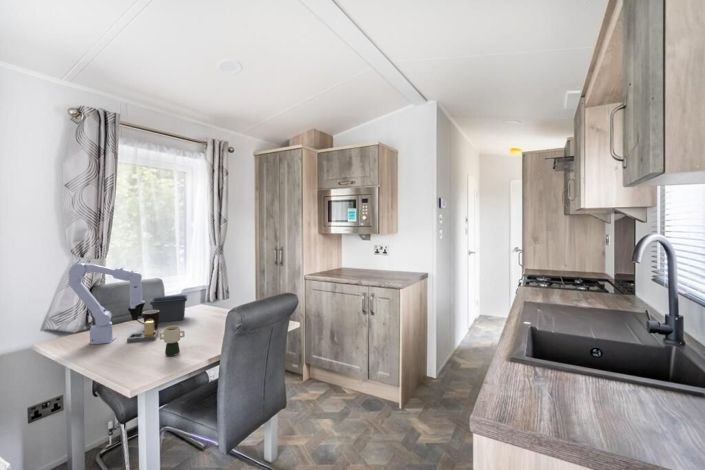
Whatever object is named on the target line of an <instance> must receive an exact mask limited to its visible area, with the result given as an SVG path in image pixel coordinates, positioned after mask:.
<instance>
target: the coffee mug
mask: <svg viewBox="0 0 705 470" xmlns="http://www.w3.org/2000/svg"><path fill="white" fill-rule="evenodd" d="M140 317H142V319H143V322H142V321H139V320H136V321H137V322H138V323H140V324H141V325H144V323H145V322H146V321H154V330H157V329H158V327H159V322H158V319H159V310H153V309H149V310H145V311H142V315H141V316H140Z"/></svg>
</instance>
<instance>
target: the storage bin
mask: <svg viewBox="0 0 705 470" xmlns="http://www.w3.org/2000/svg"><path fill="white" fill-rule="evenodd" d="M187 301H188V294H178V295H167V296H165V295H164V296H156V297H152V298H150V299H149V302H150V303H149V305H151V306H152V310H159V319H158V323H164V322H172V321H174V322H175V321H181V320H184V319H185V315H186V314H185V312H186V311H185V310H186V302H187Z"/></svg>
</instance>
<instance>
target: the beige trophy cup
mask: <svg viewBox="0 0 705 470" xmlns="http://www.w3.org/2000/svg"><path fill="white" fill-rule="evenodd" d="M185 336H186V335H185V330H181V326H178V325H171V326H167V327H164V328H163V332H159V333H158V338H159V340H161V341H162V340H163V341H164V343H166V344H165V353H164V354H165V355H166V356H169V357H172V356H173V357H174V356H176V355H178V354H180V352H181V351H180V350H181V349H180V344H179V341H180V340H181V338H185Z"/></svg>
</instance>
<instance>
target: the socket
mask: <svg viewBox="0 0 705 470" xmlns="http://www.w3.org/2000/svg"><path fill="white" fill-rule="evenodd" d="M158 337H159V331H155V335H150V336H144V332H134V333H133V332H132V333H131V334H130V335H129V336H128V337H127V339H126V343H137V342H148V341H155V340H156V339H157V338H158Z"/></svg>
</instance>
